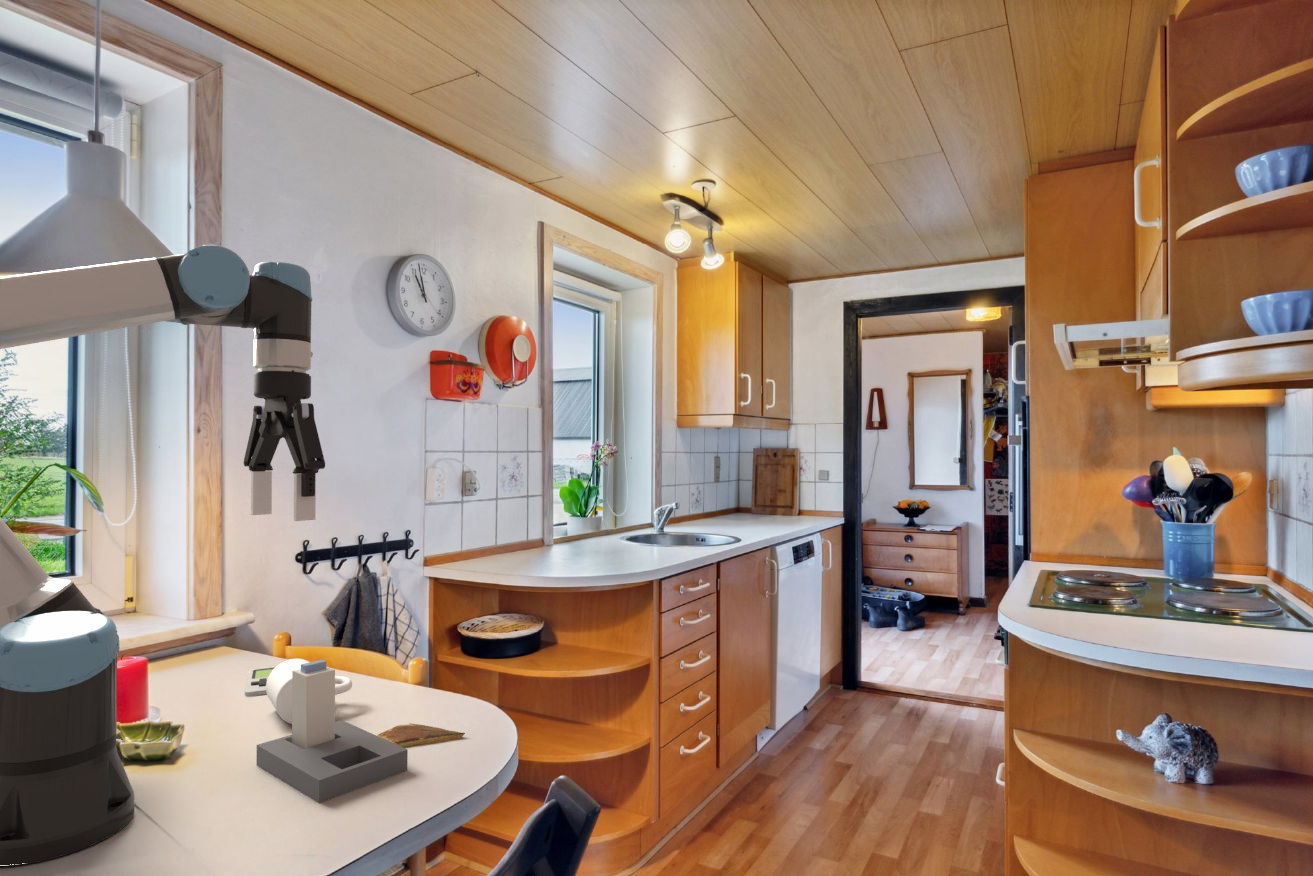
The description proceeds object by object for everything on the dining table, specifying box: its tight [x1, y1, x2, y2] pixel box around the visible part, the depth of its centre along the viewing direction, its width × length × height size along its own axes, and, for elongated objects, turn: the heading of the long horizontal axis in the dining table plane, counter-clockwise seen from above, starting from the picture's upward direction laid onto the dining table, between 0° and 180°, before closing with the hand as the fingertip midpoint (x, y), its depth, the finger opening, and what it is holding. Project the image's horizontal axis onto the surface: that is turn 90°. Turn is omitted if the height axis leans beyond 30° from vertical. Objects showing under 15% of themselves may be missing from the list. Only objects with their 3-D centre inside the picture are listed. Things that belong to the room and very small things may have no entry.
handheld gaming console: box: [244, 665, 277, 698], centre depth 140 cm, size 10×2×15 cm
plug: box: [291, 659, 336, 749], centre depth 105 cm, size 4×4×13 cm
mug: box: [266, 658, 353, 725], centre depth 124 cm, size 12×10×8 cm
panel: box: [256, 719, 408, 804], centre depth 102 cm, size 12×17×3 cm
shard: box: [376, 722, 466, 748], centre depth 111 cm, size 11×8×2 cm
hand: (282, 517), depth 111 cm, fingers open, 13 cm apart
